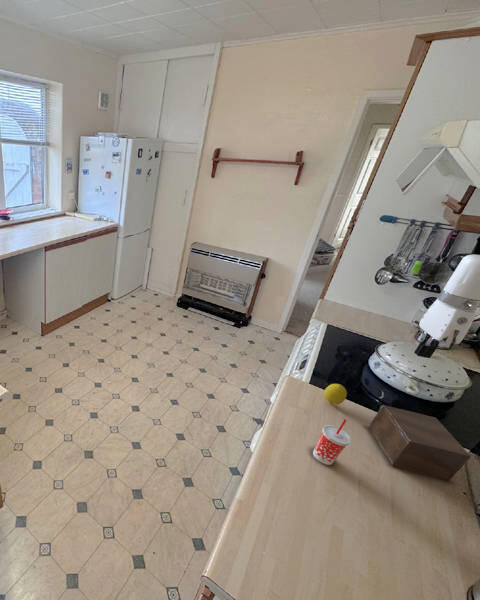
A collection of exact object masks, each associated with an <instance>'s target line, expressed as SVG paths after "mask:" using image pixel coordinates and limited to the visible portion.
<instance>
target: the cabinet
mask: <svg viewBox="0 0 480 600" xmlns="http://www.w3.org/2000/svg"><path fill="white" fill-rule="evenodd" d="M382 405H383V407H382V408H381V410H380V409H379V410H380V412H379V413H378V412H377V413H378V415H377V416H376V415H375V416H376V418H375V419H374V418H373V419H374V421H373V422H372V421H371V422H372V424H371V423H370V426H368V430H369V432H370V433H371V435H372V437H373V438H374V440H375V441H376V443H377V445H378V446H379V448H380V449H381V451H382V452H383V454H384V456H385V457H386V459H387V461H388V462H389V464H390V465H391V466H392V467H395V468H399V469H402V470H406V471H410V472H413V473H418V474H421V475H423V476H427V477H431V478H435V479H438V480H442V481H445V482H450V481H451V480H452V479H453V477H454V476H455V475H456V474H458V472H459V471H460V470H461V468H462V467H463V466H464V465H465V464H466V463H467V462H468V461H469V460H470V459H471V457H472V456H471V455H470V453H468V451H467V450H466V449H465V448H464V447H463V446H462V444H460V443H459V441H457V439H456V438H455V437H454V436H453V435H452V434H451V432H449V431H448V429H447V428H446V427H445V426H444V425H443V424H442V423H441V422H440V420H439V419H438V418H437V417H436V416H435V417H434V416H429V415H426V414H422V413H418V412H414V411H410V410H407V409H406V410H405V409H402V408H397V407H393V406H389V405H385V404H382Z"/></svg>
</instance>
